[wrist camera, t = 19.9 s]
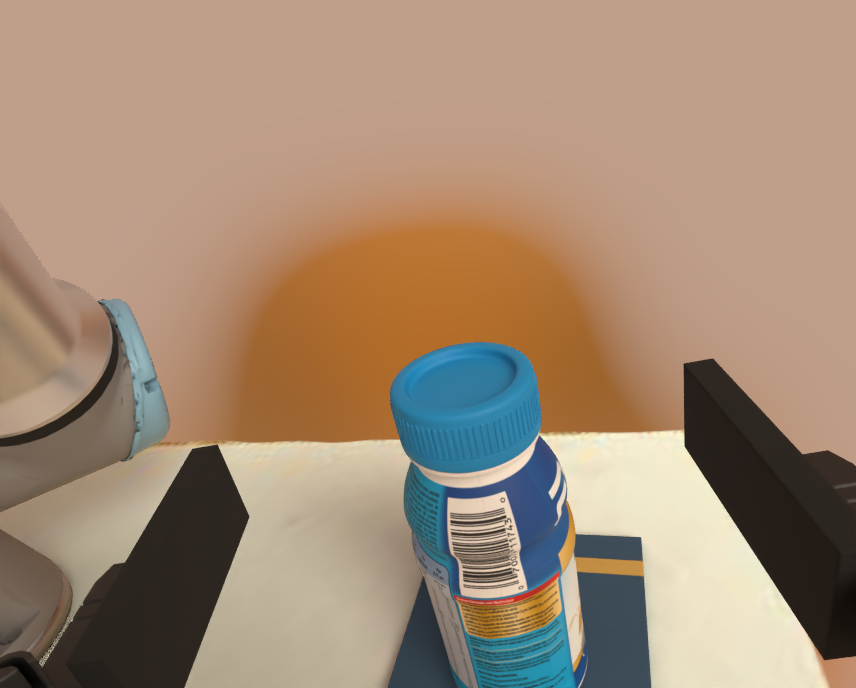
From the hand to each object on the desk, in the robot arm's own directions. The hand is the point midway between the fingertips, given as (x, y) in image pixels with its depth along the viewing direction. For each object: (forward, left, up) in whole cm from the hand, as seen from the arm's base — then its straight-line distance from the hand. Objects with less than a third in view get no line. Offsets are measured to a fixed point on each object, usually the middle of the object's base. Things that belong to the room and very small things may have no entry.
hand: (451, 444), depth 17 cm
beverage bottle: (-8, +5, -23) cm, 25 cm away
